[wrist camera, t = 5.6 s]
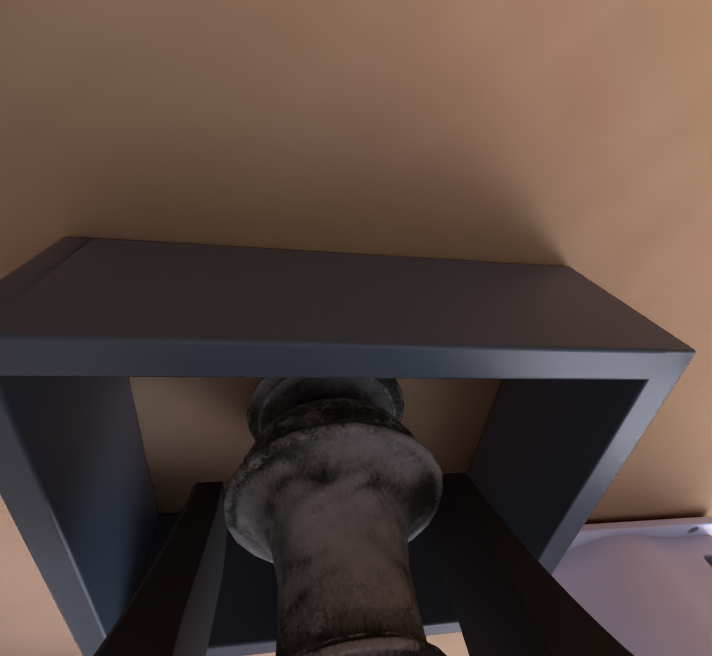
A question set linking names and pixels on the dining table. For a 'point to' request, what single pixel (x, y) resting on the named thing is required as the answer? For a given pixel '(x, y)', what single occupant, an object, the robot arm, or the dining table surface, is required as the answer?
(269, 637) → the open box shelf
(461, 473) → the robot arm
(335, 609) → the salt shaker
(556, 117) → the dining table surface
